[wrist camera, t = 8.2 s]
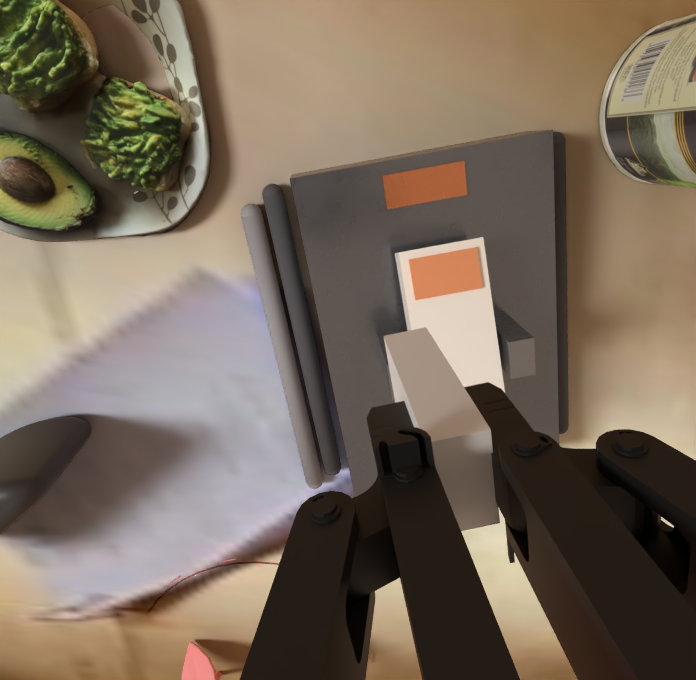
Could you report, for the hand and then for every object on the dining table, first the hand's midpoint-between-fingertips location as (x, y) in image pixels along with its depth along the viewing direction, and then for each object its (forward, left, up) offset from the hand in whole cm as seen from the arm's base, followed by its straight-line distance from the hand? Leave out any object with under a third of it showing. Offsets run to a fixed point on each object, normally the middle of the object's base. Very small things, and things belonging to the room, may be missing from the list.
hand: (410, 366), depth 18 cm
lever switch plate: (+6, +4, -20) cm, 21 cm away
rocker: (+6, +4, -12) cm, 14 cm away
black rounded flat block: (+13, -30, -20) cm, 38 cm away
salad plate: (-12, -17, -21) cm, 29 cm away
